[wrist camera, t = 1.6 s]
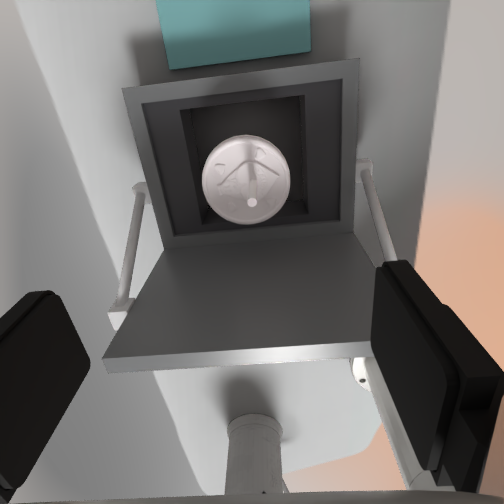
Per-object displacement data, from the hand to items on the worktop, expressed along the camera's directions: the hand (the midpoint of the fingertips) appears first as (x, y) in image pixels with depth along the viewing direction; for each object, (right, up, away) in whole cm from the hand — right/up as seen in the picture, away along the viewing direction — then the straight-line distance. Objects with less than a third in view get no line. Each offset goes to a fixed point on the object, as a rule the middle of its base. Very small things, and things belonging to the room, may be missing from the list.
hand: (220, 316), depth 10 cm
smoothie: (+1, +11, +22) cm, 25 cm away
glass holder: (+3, -28, +43) cm, 51 cm away
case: (+1, +11, +22) cm, 25 cm away
